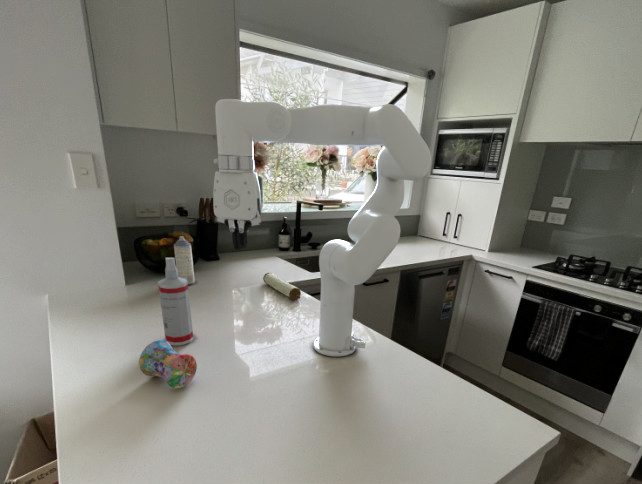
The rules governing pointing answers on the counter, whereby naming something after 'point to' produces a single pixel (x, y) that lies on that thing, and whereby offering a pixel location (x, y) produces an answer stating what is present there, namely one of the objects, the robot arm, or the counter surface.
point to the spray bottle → (175, 306)
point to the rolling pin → (282, 286)
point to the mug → (167, 364)
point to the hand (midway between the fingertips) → (240, 248)
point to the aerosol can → (184, 260)
